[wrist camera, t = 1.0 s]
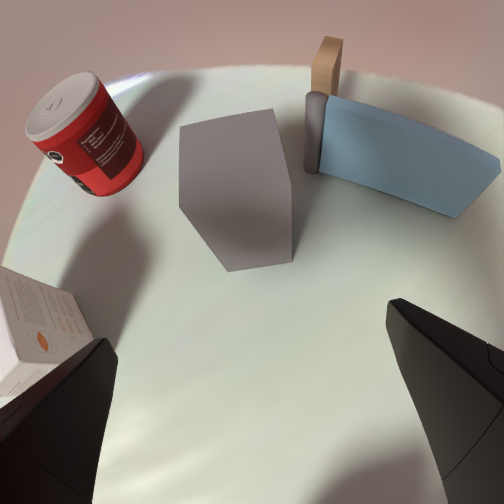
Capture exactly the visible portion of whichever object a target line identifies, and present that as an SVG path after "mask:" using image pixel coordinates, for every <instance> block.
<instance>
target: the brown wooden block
mask: <svg viewBox="0 0 504 504" xmlns="http://www.w3.org/2000/svg"><path fill="white" fill-rule="evenodd" d="M342 44H343V39H338V38H333V37H328V36H325V38H324V40H323V42H322V44H321V46H320V48H319V51H318V53H317V55H316V57H315V59H314V61H313V64H312V70H311V91H319V92H322V93H323V94H325V95H326V97H327V100H326V104H327V101H328V98H329V95H332V96H336V97H337V95H338V86H339V77H340V67H341V56H342Z"/></svg>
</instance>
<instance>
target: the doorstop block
mask: <svg viewBox="0 0 504 504" xmlns="http://www.w3.org/2000/svg"><path fill="white" fill-rule="evenodd" d="M179 207H180V209H181V210H182V211H183V213H184V214H185V215H186V217H187V218H188V220H189V221H190V222H191V224H192V225H193V226H194V228H195V229H196V230H197V232H198V233H199V234H200V236H201V237H202V238H203V240H204V241H205V242H206V244H207V245H208V246H209V248H210V249H211V250H212V252H213V253H214V254H215V256H216V257H217V258H218V260H219V261H220V262H221V264H222V265H223V266H224V268H225V269H226V270H227V271H228V272H231V271H238V270H244V269H251V268H257V267H264V266H270V265H276V264H283V263H289V262H292V186H291V182H290V177H289V173H288V169H287V164H286V160H285V156H284V152H283V147H282V143H281V139H280V135H279V131H278V127H277V123H276V119H275V115H274V111H273V109H267V110H260V111H254V112H248V113H242V114H237V115H231V116H226V117H221V118H216V119H212V120H207V121H203V122H198V123H194V124H190V125H186V126H182V127H180V141H179Z"/></svg>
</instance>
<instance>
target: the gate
mask: <svg viewBox="0 0 504 504" xmlns="http://www.w3.org/2000/svg"><path fill="white" fill-rule="evenodd" d="M326 100H327V97H326V95H325V94H323V93H322V92H319V91H311V92H309V93H307V94H306V113H305V152H304V169H305V171H306V172H308V173H316V172H318V171H319V172H320V173H324V174H327V175H331V176H334V177H338V178H341V179H344V180H348V181H351V182H354V183H357V184H360V185H363V186H367V187H370V188H373V189H376V190H379V191H382V192H385V193H388V194H390V195H393V196H396V197H399V198H402V199H405V200H407V201H410V202H413V203H416V204H418V205H421V206H423V207H426V208H429V209H431V210H434V211H436V212H439V213H441V214H444V215H446V216H449V217H451V218H454V219H456V218H457V217H458V216H459V215H460V214H461V213H462V212H463V211H464V210H465V209H466V208H467V207H468V206H469V205H470V204H471V203H472V202H473V201H474V200H475V199H476V198H477V197H478V196H479V195H480V194H481V193H482V192H483V191H484V190H485V189H486V188H487V187H488V186H489V184H490V183H491V182H492V181H493V180H494V179H495V178H496V177H497V176H498V175H499V173H500V172H501V167H500V160H499V159H498V158H497V157H495V156H493V155H491V154H489V153H487V152H485V151H483V150H481V149H479V148H477V147H475V146H473V145H471V144H469V143H467V142H465V141H463V140H461V139H458V138H456V137H454V136H452V135H449V134H447V133H445V132H442V131H440V130H438V129H435V128H433V127H430V126H428V125H425V124H423V123H420V122H417V121H415V120H412V119H409V118H406V117H404V116H401V115H398V114H395V113H392V112H389V111H386V110H383V109H379V108H376V107H373V106H370V105H366V104H363V103H359V102H356V101H352V100H348V99H344V98H340V97H336V96H332V95H329V98H328V101H327V104H326Z"/></svg>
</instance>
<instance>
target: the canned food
mask: <svg viewBox="0 0 504 504" xmlns="http://www.w3.org/2000/svg"><path fill="white" fill-rule="evenodd" d="M25 133H26V135H27V136H28V137H29V139H30V140H31V141H32V142H33V143H34V144H35V145H36V146H37V147H38V148H39V149H40V150H41V151H42V152H43V153H44V154H45V155H46V156H47V157H48V158H49V159H50V160H51V161H53V162H54V163H55V164H56V165H57V166H58V167H59V168H60V169H61V170H62V171H63V172H64V173H66V174H67V175H68V176H69V177H70V178H71V179H72V180H73V181H74V182H75V183H77V184H78V185H79V186H80V187H81V188H82V189H83V190H84V191H86V192H87V193H89V194H92V195H95V196H99V197H104V196H109V195H112V194H115V193H117V192H119V191H120V190H122V189H123V188H125V187H126V186H127V185H128V184H129V183H131V181H132V180H133V179H134V178H135V177H136V175H137V174H138V172H139V170H140V168H141V166H142V163H143V150H142V145H141V143H140V142H139V140H138V138H137V137H136V135H135V134H134V132H133V131H132V129H131V128H130V126H129V125H128V123H127V122H126V120H125V119H124V117H123V115H122V114H121V112H120V111H119V109H118V108H117V106H116V105H115V103H114V101H113V100H112V98H111V97H110V95H109V94H108V92H107V90H106V89H105V87H104V86H103V84H102V83H101V81H100V80H99V78H98V77H97V76H96V75H95V74H94V73H93V72H89V71H88V72H81V73H78V74H75V75H73V76H71V77H69V78H67V79H65V80H63V81H62V82H60V83H59V84H58V85H56V86H55V87H54V88H52V89H51V90H50V91H49V92H48V93H47V94H46V95H45V96H44V97H43V98H42V99H41V100H40V101H39V103H38V104H37V105H36V106H35V108H34V109H33V111H32V112H31V114H30V116H29V118H28V120H27V122H26V126H25Z"/></svg>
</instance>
